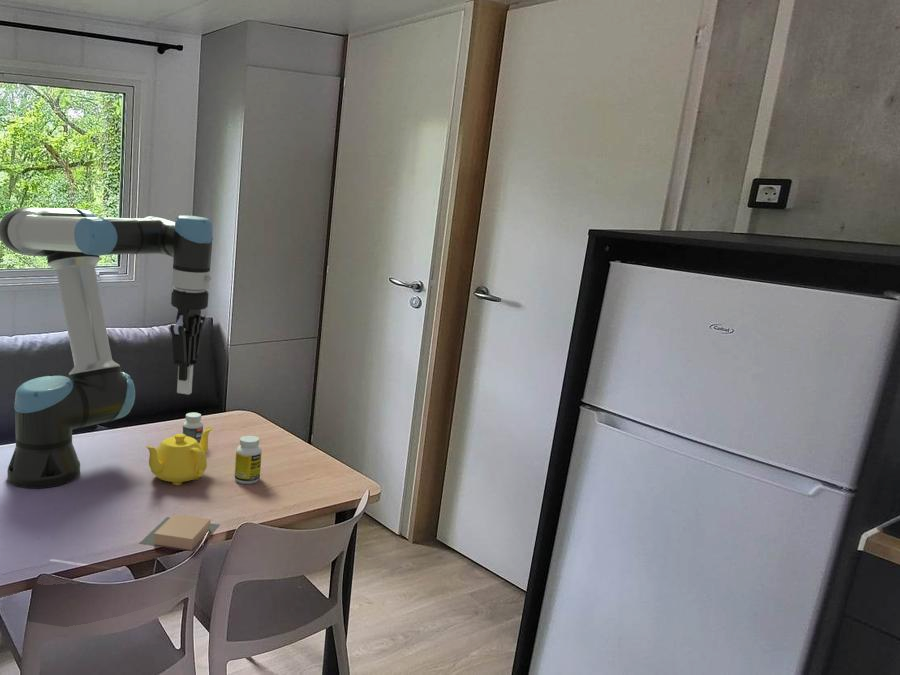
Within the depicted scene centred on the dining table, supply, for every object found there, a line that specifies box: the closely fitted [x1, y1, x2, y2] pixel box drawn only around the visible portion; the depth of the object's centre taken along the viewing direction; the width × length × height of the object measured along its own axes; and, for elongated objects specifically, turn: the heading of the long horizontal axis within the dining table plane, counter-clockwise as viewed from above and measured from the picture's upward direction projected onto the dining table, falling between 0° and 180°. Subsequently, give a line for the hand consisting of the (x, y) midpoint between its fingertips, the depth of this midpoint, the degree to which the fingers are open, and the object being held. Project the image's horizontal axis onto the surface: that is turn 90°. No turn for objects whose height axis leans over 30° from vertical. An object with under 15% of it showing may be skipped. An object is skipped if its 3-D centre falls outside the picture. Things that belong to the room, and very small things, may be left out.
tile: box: [154, 513, 212, 550], centre depth 149 cm, size 8×2×9 cm
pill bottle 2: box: [234, 435, 263, 485], centre depth 180 cm, size 6×6×11 cm
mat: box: [139, 516, 220, 553], centre depth 151 cm, size 12×12×1 cm
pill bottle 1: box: [182, 412, 204, 443], centre depth 198 cm, size 5×5×9 cm
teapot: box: [145, 426, 213, 486], centre depth 175 cm, size 20×15×12 cm
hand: (184, 392), depth 159 cm, fingers closed
